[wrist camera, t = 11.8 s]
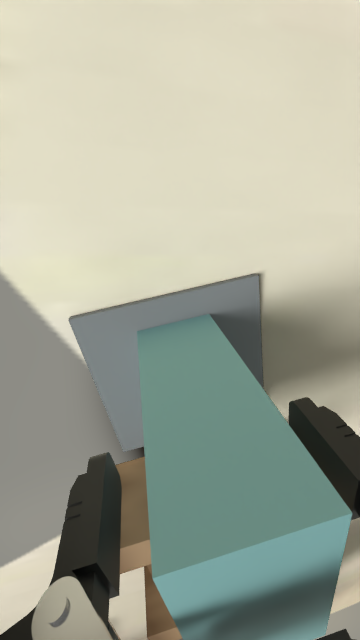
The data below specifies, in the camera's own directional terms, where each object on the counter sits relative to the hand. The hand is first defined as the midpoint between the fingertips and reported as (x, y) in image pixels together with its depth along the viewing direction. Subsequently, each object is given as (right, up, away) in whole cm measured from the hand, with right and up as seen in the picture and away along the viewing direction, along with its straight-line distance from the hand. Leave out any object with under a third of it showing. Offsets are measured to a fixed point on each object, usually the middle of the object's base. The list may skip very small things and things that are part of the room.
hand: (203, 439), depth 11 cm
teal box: (-1, +2, +4) cm, 5 cm away
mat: (-1, +2, +5) cm, 5 cm away
